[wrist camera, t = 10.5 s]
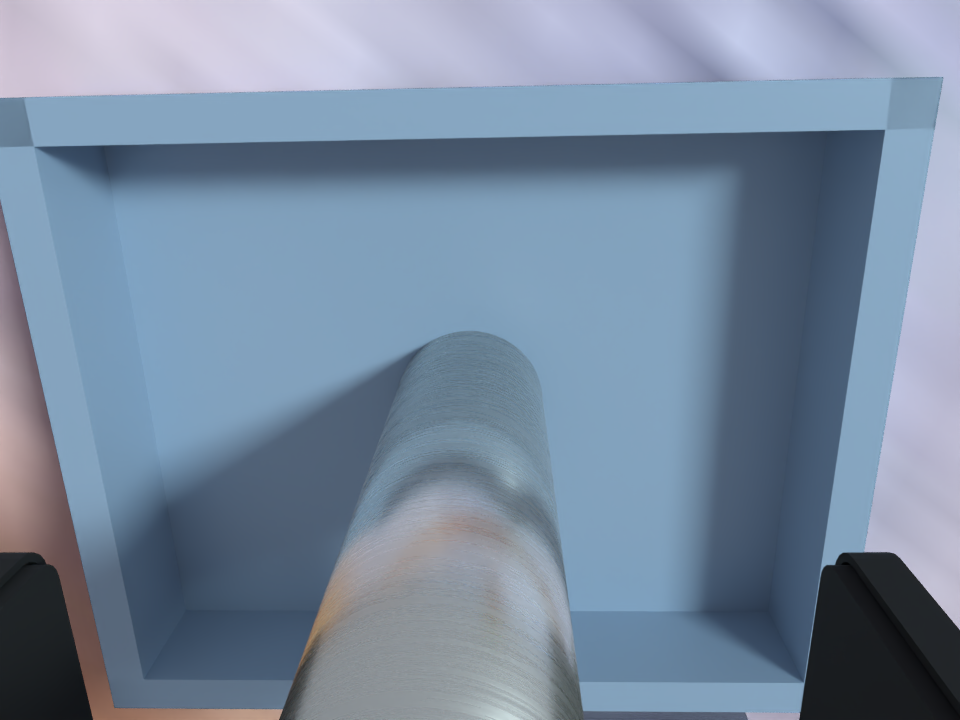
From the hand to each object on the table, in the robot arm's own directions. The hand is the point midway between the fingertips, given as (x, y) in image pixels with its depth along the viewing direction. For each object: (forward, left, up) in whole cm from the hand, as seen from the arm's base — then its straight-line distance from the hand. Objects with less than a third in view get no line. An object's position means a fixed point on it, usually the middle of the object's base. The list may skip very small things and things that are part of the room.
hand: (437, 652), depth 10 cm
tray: (0, 0, -9) cm, 9 cm away
